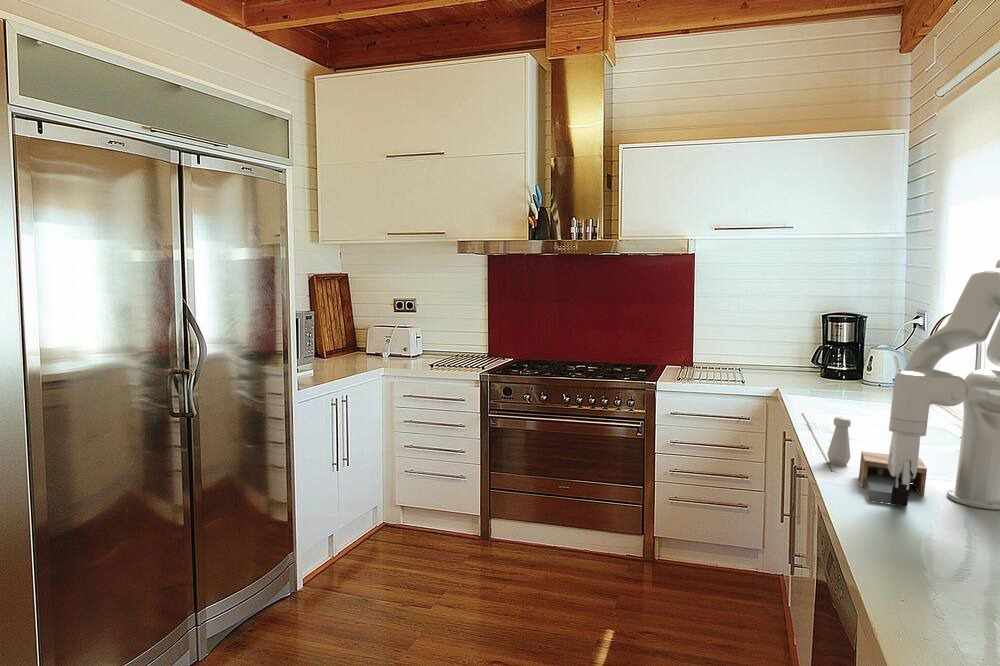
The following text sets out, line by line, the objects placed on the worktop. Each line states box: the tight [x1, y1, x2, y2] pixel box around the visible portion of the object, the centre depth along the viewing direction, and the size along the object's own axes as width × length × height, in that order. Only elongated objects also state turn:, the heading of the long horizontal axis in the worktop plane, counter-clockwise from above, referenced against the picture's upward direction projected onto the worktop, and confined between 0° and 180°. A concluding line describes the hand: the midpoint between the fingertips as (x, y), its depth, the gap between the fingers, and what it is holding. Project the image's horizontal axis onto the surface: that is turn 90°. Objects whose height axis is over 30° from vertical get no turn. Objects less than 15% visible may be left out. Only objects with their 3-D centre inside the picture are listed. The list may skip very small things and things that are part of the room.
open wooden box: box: [858, 450, 928, 497], centre depth 192 cm, size 10×14×7 cm
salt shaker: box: [826, 416, 852, 467], centre depth 210 cm, size 6×6×13 cm
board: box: [865, 473, 895, 505], centre depth 186 cm, size 16×8×3 cm, turn 158°
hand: (898, 504), depth 176 cm, fingers closed
